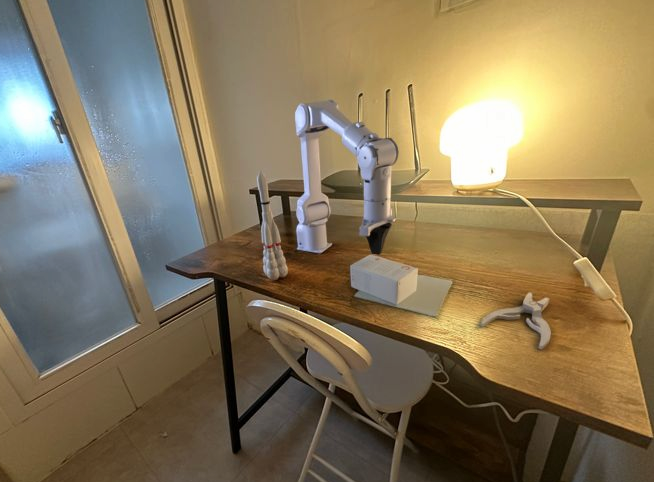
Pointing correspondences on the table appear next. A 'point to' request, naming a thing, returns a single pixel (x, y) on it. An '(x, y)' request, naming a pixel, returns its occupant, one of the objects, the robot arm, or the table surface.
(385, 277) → the small box
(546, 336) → the pliers
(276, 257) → the rocket model
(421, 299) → the mat
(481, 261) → the table surface
